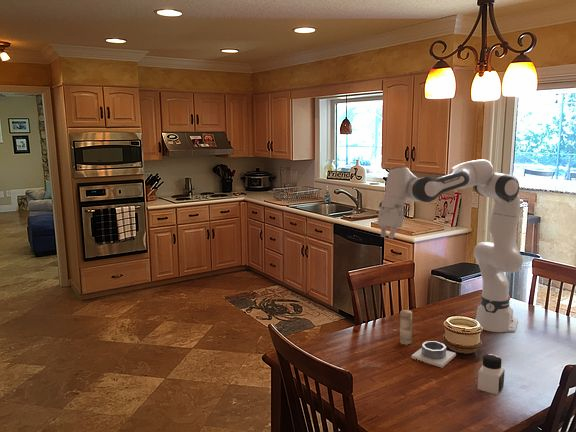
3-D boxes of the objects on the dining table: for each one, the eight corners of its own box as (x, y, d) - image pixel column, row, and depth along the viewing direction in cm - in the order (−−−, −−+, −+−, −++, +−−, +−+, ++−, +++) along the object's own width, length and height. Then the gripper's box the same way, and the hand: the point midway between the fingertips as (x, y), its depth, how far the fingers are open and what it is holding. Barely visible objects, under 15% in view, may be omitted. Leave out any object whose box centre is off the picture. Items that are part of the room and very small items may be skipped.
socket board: (425, 347, 204) (426, 336, 203) (455, 355, 195) (456, 344, 194) (411, 358, 194) (411, 346, 193) (442, 367, 185) (442, 356, 185)
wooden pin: (403, 339, 212) (403, 309, 209) (413, 342, 208) (414, 311, 206) (397, 343, 208) (398, 312, 206) (408, 346, 205) (408, 315, 202)
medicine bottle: (498, 395, 165) (500, 363, 163) (477, 389, 169) (478, 357, 167) (503, 386, 171) (505, 355, 169) (483, 381, 175) (484, 350, 173)
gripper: (409, 206, 189) (403, 240, 189) (391, 206, 209) (385, 237, 209) (394, 202, 188) (388, 237, 188) (377, 203, 208) (372, 235, 208)
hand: (386, 237), depth 199 cm, fingers open, 8 cm apart
